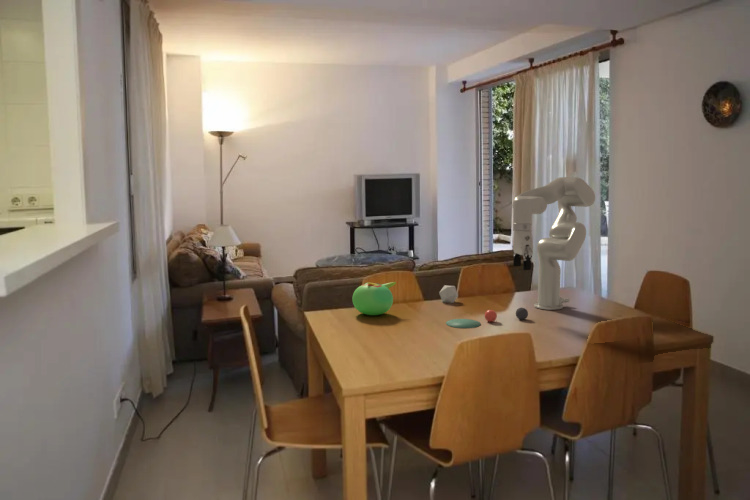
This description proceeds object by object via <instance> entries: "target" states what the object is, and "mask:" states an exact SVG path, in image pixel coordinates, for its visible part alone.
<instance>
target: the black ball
mask: <svg viewBox="0 0 750 500" xmlns="http://www.w3.org/2000/svg"><path fill="white" fill-rule="evenodd" d="M528 312H529V311H528V310H527V308H526V307H519V308H517V309H516V310H515V316H516V318H517V319H518V320H522V321H523V320H526V319H527V318H528V317H529V313H528Z"/></svg>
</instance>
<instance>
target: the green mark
mask: <svg viewBox="0 0 750 500" xmlns="http://www.w3.org/2000/svg"><path fill="white" fill-rule="evenodd" d="M445 324H446V325H447V326H448V327H451V328H455V329H456V328H457V329H474V328H478V327H480V326H481V325H482V324H481V322H480V321H478V320H475V319H469V318H453V319H449V320H447V321H446V322H445Z"/></svg>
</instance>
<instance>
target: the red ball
mask: <svg viewBox="0 0 750 500" xmlns="http://www.w3.org/2000/svg"><path fill="white" fill-rule="evenodd" d="M497 317H498V314H497V312H496V311H495V310H493V309H488V310H486V311H485V313H484V320H486V321H487V322H488V323H489V322H490V323H493V322H495V321H496V320H497V319H498V318H497Z"/></svg>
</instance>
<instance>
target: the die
mask: <svg viewBox="0 0 750 500" xmlns="http://www.w3.org/2000/svg"><path fill="white" fill-rule="evenodd" d="M438 293H439V296H440V300H441V302H442V303H446V302H447V303H448V304H454V303H455V302H456V299H457V298H458V297H459V294H458V293H459V292H458V291H457V288H456V286H455V285H447V284H446V285H445V284H444V285H443V287H441V289H440V291H439V292H438ZM447 303H446V304H447Z"/></svg>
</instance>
